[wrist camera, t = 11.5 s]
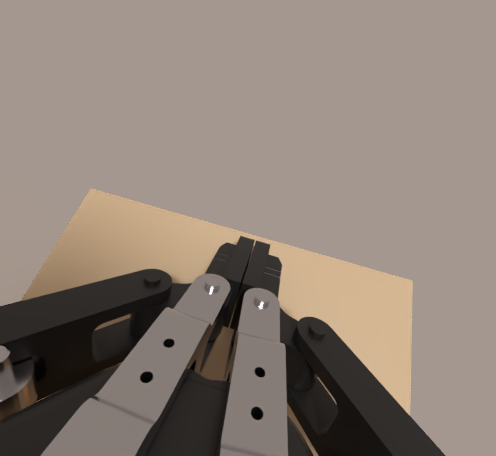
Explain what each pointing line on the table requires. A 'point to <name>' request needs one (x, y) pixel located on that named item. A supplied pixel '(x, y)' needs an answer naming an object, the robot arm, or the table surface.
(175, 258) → the carton flap
